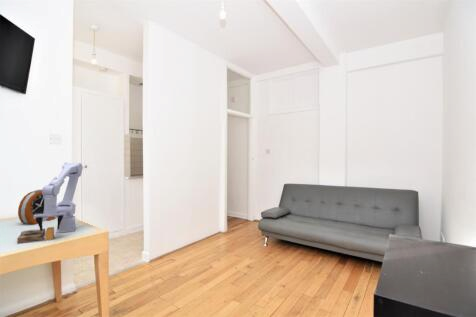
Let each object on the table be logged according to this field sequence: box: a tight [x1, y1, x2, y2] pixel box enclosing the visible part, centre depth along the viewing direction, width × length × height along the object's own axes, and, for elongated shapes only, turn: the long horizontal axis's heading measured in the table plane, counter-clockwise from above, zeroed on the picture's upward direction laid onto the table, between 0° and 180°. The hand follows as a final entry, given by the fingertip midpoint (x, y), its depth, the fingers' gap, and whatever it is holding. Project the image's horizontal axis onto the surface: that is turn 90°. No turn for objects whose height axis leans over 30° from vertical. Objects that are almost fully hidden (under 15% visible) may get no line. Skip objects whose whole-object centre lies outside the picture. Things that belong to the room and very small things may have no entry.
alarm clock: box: [17, 189, 56, 225], centre depth 173 cm, size 22×10×23 cm, turn 171°
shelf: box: [16, 228, 46, 245], centre depth 139 cm, size 10×15×5 cm, turn 32°
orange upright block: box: [45, 226, 55, 241], centre depth 139 cm, size 3×7×6 cm, turn 32°
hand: (49, 229), depth 139 cm, fingers open, 7 cm apart
